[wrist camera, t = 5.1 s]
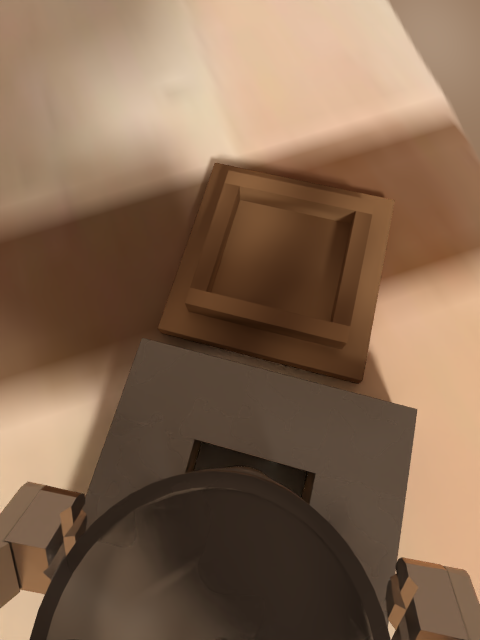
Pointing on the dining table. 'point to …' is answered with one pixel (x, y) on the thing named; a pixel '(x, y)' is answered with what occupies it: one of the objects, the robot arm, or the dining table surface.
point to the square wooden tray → (282, 271)
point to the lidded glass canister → (211, 568)
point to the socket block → (264, 442)
